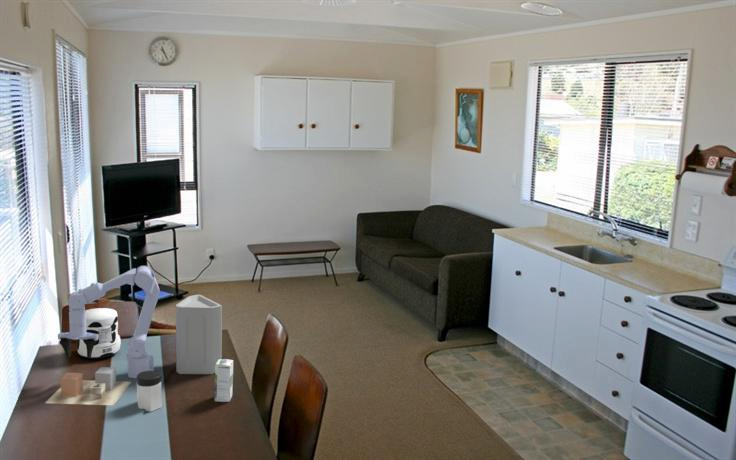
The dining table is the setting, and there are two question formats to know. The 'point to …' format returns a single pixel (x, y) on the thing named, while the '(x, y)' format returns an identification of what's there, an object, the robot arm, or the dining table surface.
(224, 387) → the syrup box
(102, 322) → the milk container
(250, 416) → the dining table surface
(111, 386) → the grey cover
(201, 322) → the white triangular prism
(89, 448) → the dining table surface
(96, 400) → the birch board
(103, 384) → the letter cube
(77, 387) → the terracotta cover
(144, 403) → the jar
